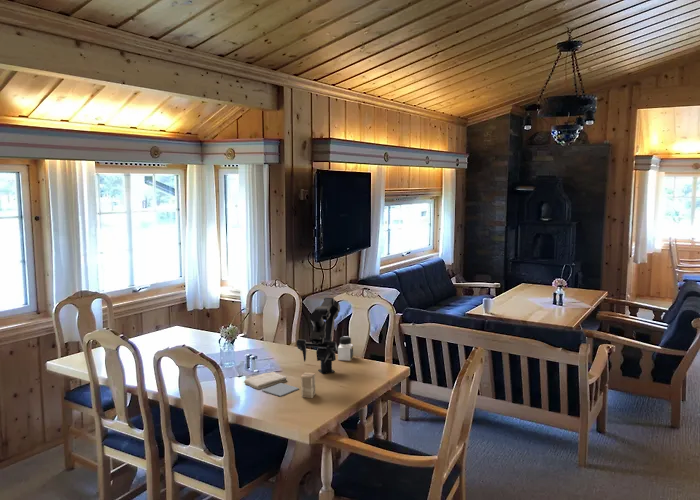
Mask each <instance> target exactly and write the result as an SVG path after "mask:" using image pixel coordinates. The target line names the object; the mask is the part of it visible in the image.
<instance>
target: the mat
mask: <svg viewBox="0 0 700 500" xmlns="http://www.w3.org/2000/svg"><path fill="white" fill-rule="evenodd" d="M298 390H300V388H299V387H296V386H293V385H289V384H286V383H284V382H282V383H278V384H274V385H271V386H268V387H265V388H263V389H261V391H262V392H263V393H267V394H269V395H274V396H277V397H283V396H286V395H289V394H290V393H294V392H296V391H298Z"/></svg>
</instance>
